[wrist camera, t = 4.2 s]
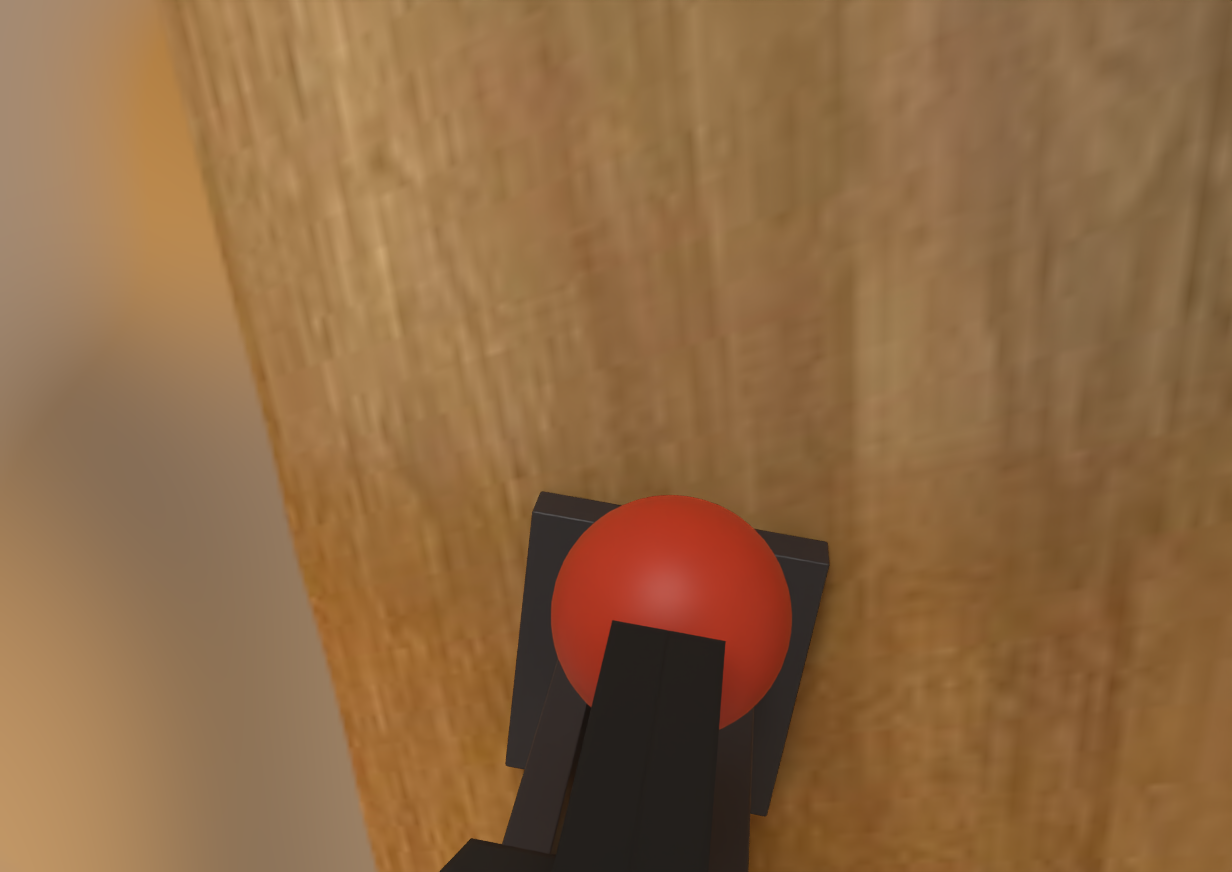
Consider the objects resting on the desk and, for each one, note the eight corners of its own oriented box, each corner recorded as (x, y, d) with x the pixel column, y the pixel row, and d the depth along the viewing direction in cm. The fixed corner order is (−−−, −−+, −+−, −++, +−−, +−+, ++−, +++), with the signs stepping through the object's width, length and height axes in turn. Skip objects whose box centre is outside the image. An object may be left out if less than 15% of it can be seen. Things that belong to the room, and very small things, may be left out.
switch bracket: (540, 490, 31) (377, 879, 18) (828, 541, 30) (860, 977, 18) (513, 739, 35) (364, 1199, 22) (767, 789, 34) (758, 1287, 22)
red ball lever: (585, 434, 17) (538, 568, 14) (813, 473, 17) (816, 618, 14) (523, 956, 24) (483, 1126, 21) (687, 990, 24) (670, 1166, 21)
